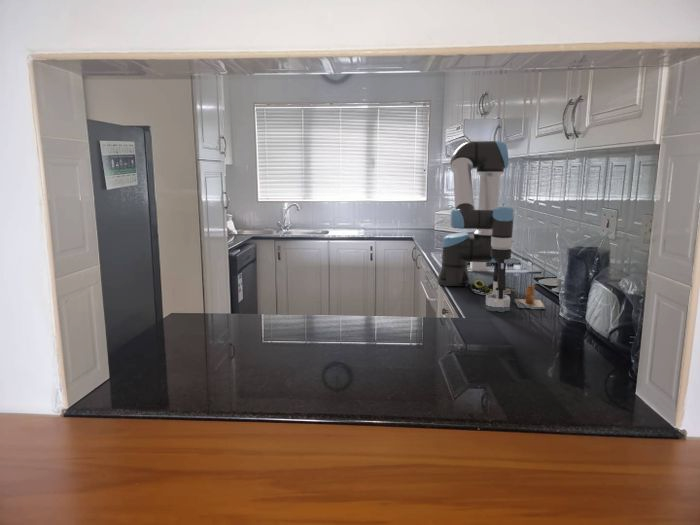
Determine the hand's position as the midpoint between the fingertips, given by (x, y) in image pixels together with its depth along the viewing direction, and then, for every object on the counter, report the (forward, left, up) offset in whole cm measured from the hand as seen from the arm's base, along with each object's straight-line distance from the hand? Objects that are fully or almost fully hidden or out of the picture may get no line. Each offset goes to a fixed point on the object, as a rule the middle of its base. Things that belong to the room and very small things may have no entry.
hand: (497, 302), depth 196 cm
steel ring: (0, 0, -3) cm, 3 cm away
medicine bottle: (-3, +71, -3) cm, 72 cm away
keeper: (+13, +7, -3) cm, 15 cm away
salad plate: (-1, +27, -4) cm, 28 cm away
